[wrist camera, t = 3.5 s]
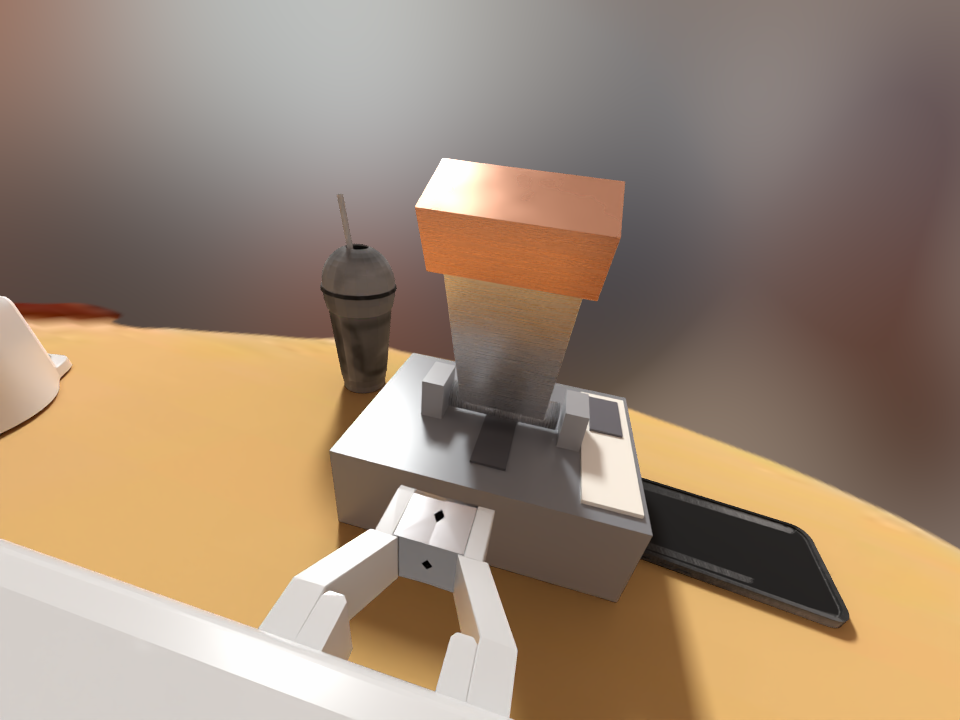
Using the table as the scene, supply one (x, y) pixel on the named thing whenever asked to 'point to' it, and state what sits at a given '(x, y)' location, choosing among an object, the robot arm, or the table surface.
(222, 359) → the table surface
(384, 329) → the beverage cup
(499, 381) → the lever
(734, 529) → the phone
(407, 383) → the switch box
